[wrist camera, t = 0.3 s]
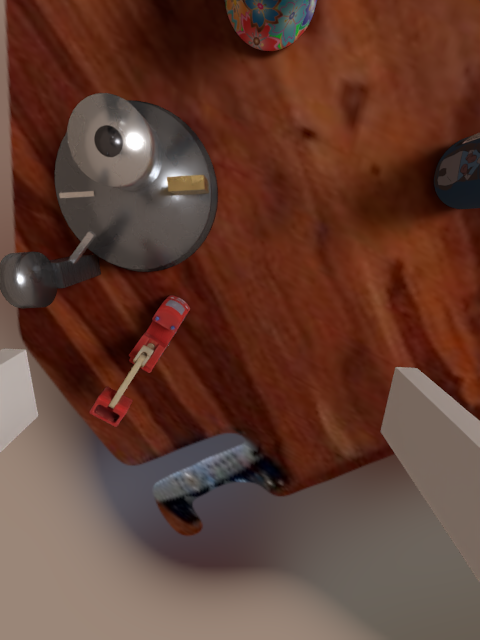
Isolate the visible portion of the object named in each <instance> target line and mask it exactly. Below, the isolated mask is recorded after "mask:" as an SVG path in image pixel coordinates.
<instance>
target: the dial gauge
mask: <svg viewBox="0 0 480 640" xmlns="http://www.w3.org/2000/svg"><path fill="white" fill-rule="evenodd" d="M95 237H96V234H95V233H93V232H92V231H89V232H88V233H87V234H86V236H85V237H84V239H83V240H82V241H81V243H80V244H79V246H78V247H77V248H76V250H75V251H74V253H73V254H72V255H71V257H66V258H61V259H55V260H50V261H49V260H48V258H47V257H46V256H44V255H43V254H41V253H39V252H24V253H11V254H8V255H7V256H5V257H4V258H3V259H2V261H1V263H0V290H1V292H2V294H3V296H4V297H5V298H6V300H7V301H8V302H9V303H10V304H12V305H13V306H15V307H18V308H37V307H46V306H48V305H50V304H51V303H52V302H53V300H54V298H55V296H56V293H57V288H65V287H68V286H71V285H73V284H76V283H79V282H82V281H84V280H87V279H90V278H92V277H95V276H98V275H101V271H100V266H99V261H98V256H97V255H96V254H91V255H83V253H84V252H85V251H86V249H87V248H88V246H89V245H90V244H91V242H92V241H93V240H94V238H95Z"/></svg>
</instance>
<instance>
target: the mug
mask: <svg viewBox="0 0 480 640" xmlns="http://www.w3.org/2000/svg"><path fill="white" fill-rule="evenodd" d="M316 1H317V0H225V5H226V10H227V14H228V17H229V20H230V22H231V24H232V26H233V28H234V30H235V31H236V33H237V34H238V35H239V37H240V38H241V39H242V40H243V41H244V42H246V43H247V44H248V45H250V46H252V47H254V48H256V49H259V50H263V51H276V50H280V49H283V48H285V47H287V46H289V45H290V44H292V43H293V42H295V41H296V40H297V39H298V38H299V37H300V36H301V35H302V33H303V32H304V31H305V29H306V28H307V26H308V25H309V23H310V21H311V19H312V16H313V13H314V10H315V6H316Z"/></svg>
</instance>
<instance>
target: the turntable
mask: <svg viewBox="0 0 480 640" xmlns="http://www.w3.org/2000/svg"><path fill="white" fill-rule="evenodd" d="M126 101H127V100H126ZM128 102H129V103H130V104H131V105H132V106H133V107H134V108H135V109H136V110H137V111H138V112H139V113H140V114H141V115H142V116H143V117H144V118H145V119H146V120H147V122H148V123H149V124H150V125H151V126H152V127H153V128H154V130H155V131H156V133H157V135H158V137H159V139H160V142H161V145H162V150H163V162H162V167H161V170H160V172H159V174H158V176H157V178H156V179H155V180H154V181H153V183H151V184H150V185H149V186H147V187H146V188H144V189H141V190H138V191H125V190H121V189H118V188H114V187H110V186H107V185H103V184H100V183H98V182H96V181H94V180H92V179H91V178H89V177H88V176H87V175H86V174H85V173H84V172H82V170H81V169H80V168H79V167H78V165H77V164H76V162H75V161H74V159H73V157H72V154H71V152H70V148H69V145H68V137H67V133H66V135H65V136H64V138H63V140H62V142H61V145H60V148H59V150H58V154H57V159H56V164H55V188H56V194H57V198H58V202H59V205H60V208H61V211H62V213H63V216H64V218H65V220H66V221H67V223H68V225H69V227H70V228H71V230H72V231H73V233H74V234H75V235H76V237H77V238H78V239H79V240H80V241H82V240H83V239H84V237H85V236H86V234H87V233H88V232H89V231H92V232H93V233H95V234H96V237H95V238H94V240H93V241H92V242H91V244H90V245H89V246H88V249H89V250H90V251H92V252H93V253H94V254H96V255H97V256H99V257H100V258H102V259H104V260H106V261H108V262H110V263H113V264H115V265H118V266H121V267H125V268H131V269H151V268H157V267H160V266H164V265H166V264H169V263H171V262H173V261H175V260H176V259H178V258H180V257H182V256H183V255H184V254H185V253H187V252H188V251H189V250H190V249H191V248H192V247H193V246H194V245H195V244H196V243H197V241H198V240H199V238H200V237H201V235H202V234H203V232H204V230H205V228H206V225H207V223H208V220H209V216H210V212H211V206H212V184H211V177H210V173H209V169H208V166H207V164H206V161H205V158H204V156H203V154H202V152H201V151H200V149H199V147H198V145H197V143H196V142H195V140H194V139H193V138H192V136H191V135H190V133H189V132H188V131H187V130H186V129H185V128H184V127H183V126H182V125H181V124H180V123H179V122H178V121H177V120H176V119H174V118H173V117H172V116H170V115H169V114H167V113H166V112H164V111H162V110H160V109H158V108H156V107H154V106H152V105H149V104H146V103H142V102H137V101H128Z"/></svg>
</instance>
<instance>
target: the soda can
mask: <svg viewBox="0 0 480 640" xmlns="http://www.w3.org/2000/svg"><path fill="white" fill-rule="evenodd" d="M434 187H435V191H436V193H437V195H438V197H439V198H440V200H441V201H442V202H443V203H445V204H446V205H448V206H450V207H452V208H456V209H470V208H480V133H478V134H475V135H473V136H470V137H467V138H465V139H462V140H460V141H458V142H457V143H455V144H454V145H452V146H451V147H450V148H449V149H448V150H447V151H446V152H445V153H444V155H443V156H442V158H441V159H440V161H439V163H438V165H437V168H436V171H435V175H434Z"/></svg>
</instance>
